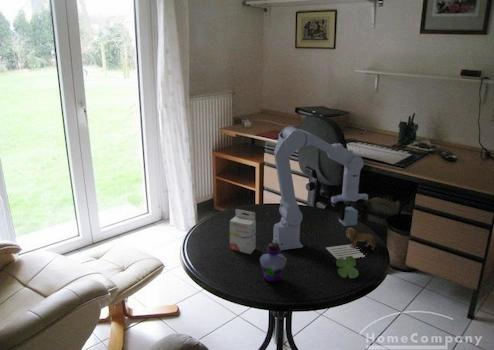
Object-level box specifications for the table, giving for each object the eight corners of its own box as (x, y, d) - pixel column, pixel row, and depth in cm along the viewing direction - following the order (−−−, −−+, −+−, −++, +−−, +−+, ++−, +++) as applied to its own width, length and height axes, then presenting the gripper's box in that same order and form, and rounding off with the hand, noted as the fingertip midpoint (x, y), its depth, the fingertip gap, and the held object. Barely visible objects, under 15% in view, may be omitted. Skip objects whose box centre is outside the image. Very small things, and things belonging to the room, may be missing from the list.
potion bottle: (260, 285, 126) (261, 250, 123) (258, 271, 135) (258, 238, 131) (288, 285, 127) (289, 250, 123) (284, 271, 135) (285, 237, 132)
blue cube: (345, 226, 154) (346, 212, 152) (338, 221, 158) (339, 207, 157) (356, 224, 155) (357, 211, 153) (350, 219, 159) (351, 206, 158)
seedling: (348, 285, 136) (349, 284, 130) (330, 267, 138) (330, 266, 132) (363, 269, 136) (365, 268, 130) (344, 252, 139) (345, 250, 133)
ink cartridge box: (229, 250, 150) (228, 212, 146) (235, 244, 154) (234, 208, 150) (250, 254, 146) (250, 216, 142) (256, 249, 150) (256, 211, 146)
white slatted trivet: (338, 260, 142) (338, 259, 142) (325, 248, 151) (325, 247, 151) (369, 256, 145) (369, 255, 145) (354, 244, 155) (354, 243, 155)
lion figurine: (345, 248, 150) (347, 230, 148) (343, 243, 155) (345, 225, 153) (378, 250, 150) (380, 232, 148) (375, 245, 154) (378, 227, 152)
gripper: (338, 189, 147) (335, 224, 150) (373, 186, 150) (370, 220, 154) (329, 183, 153) (326, 217, 157) (363, 181, 157) (360, 214, 161)
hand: (347, 218), depth 156 cm, fingers closed on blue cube, 5 cm apart
